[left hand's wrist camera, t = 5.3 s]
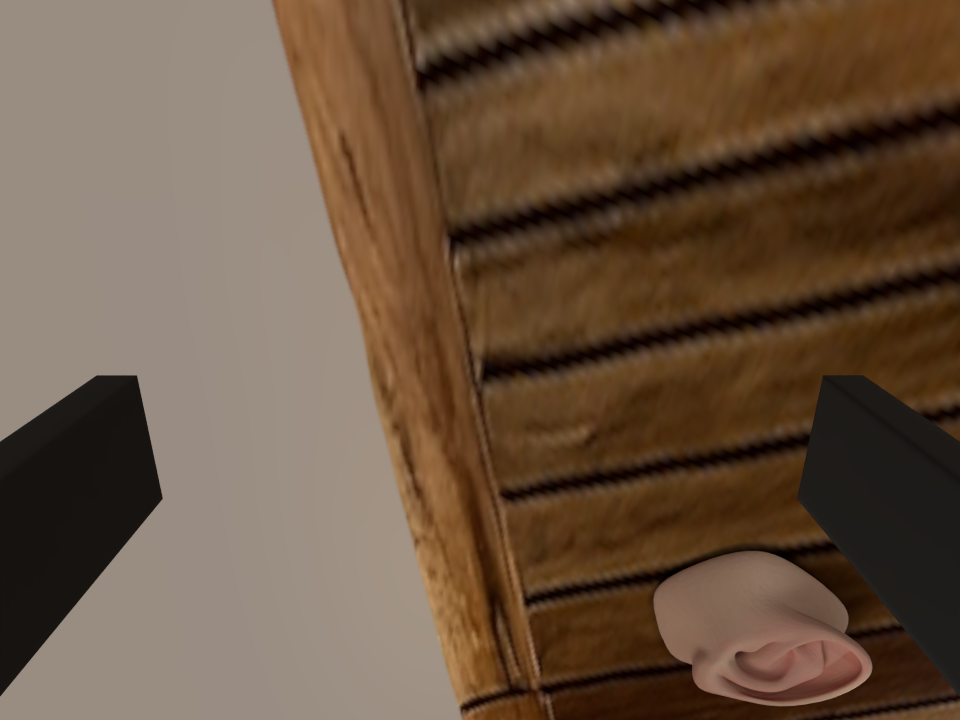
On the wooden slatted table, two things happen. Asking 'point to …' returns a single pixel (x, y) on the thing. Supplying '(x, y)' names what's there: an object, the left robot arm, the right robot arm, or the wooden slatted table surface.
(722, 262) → the wooden slatted table surface
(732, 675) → the anatomical model
